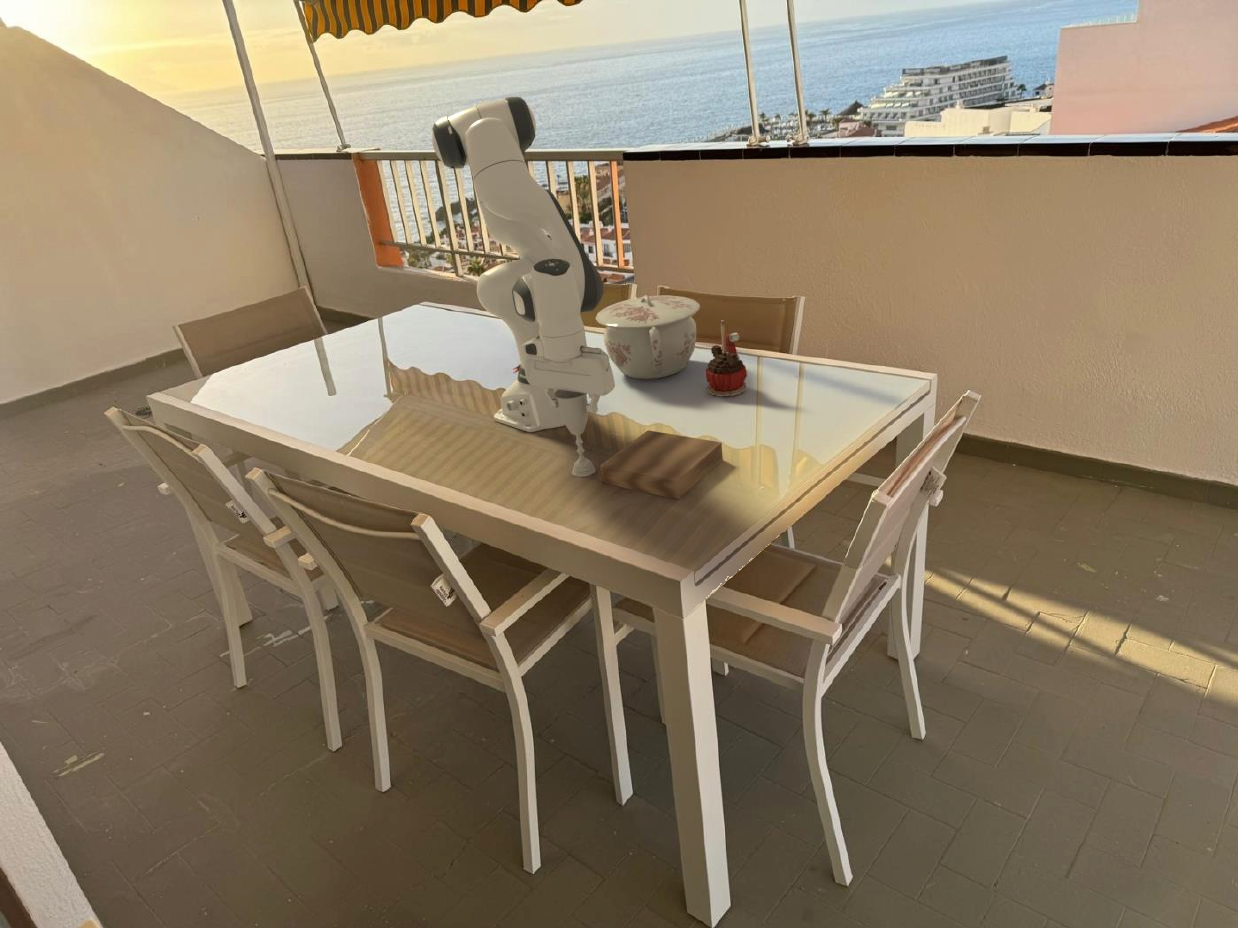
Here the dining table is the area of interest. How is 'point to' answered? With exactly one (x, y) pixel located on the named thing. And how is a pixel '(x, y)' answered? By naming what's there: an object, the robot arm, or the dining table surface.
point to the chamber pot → (650, 335)
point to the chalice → (576, 425)
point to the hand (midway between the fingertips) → (574, 409)
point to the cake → (726, 367)
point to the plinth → (662, 464)
